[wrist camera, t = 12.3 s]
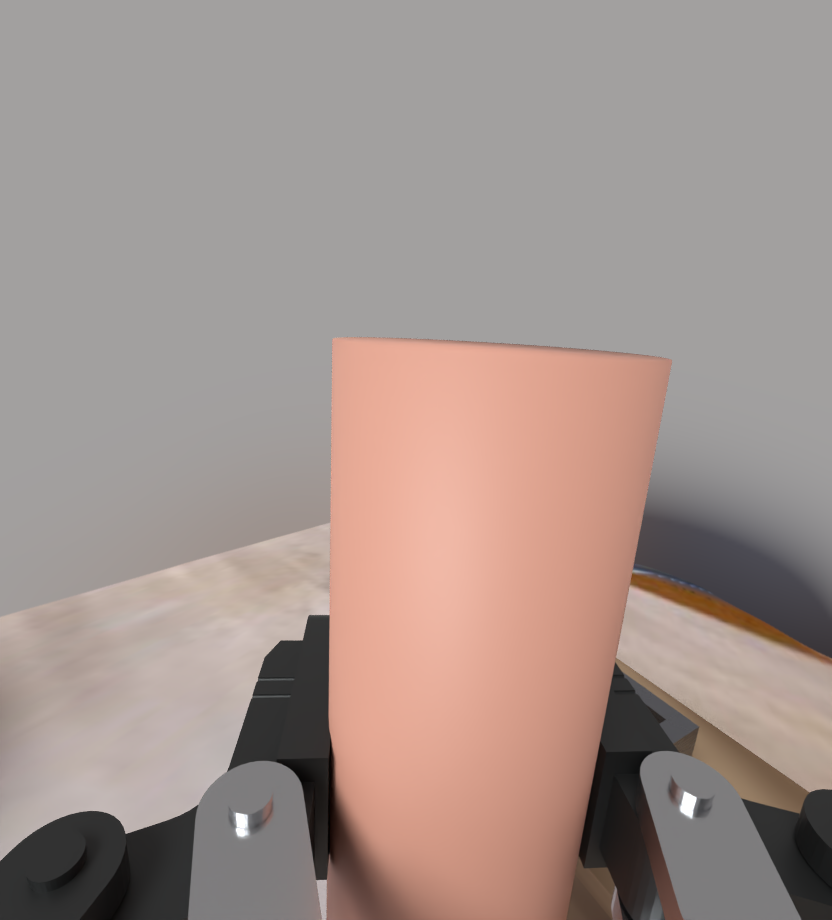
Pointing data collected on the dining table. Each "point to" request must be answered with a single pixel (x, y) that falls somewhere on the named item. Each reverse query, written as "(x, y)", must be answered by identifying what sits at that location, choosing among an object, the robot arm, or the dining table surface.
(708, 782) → the robot arm
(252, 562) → the dining table surface
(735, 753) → the brown wooden block
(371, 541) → the key peg
